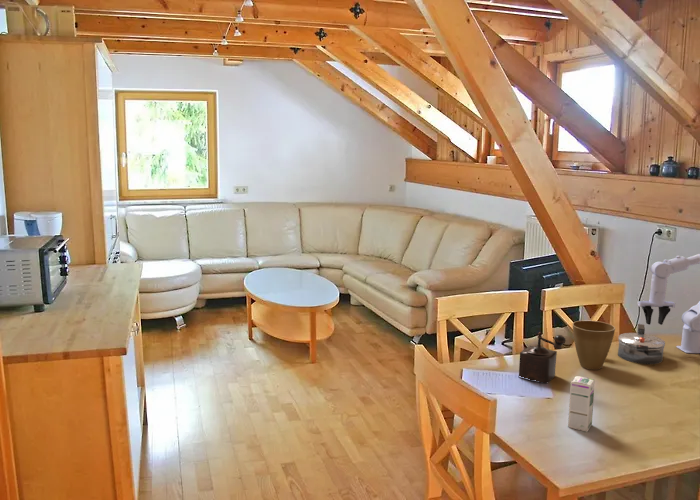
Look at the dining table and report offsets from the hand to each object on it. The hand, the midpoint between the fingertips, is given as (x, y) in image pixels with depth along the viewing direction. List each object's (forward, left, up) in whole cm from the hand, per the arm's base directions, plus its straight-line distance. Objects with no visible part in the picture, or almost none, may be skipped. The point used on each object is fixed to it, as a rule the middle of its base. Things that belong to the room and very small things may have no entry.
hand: (654, 323), depth 260 cm
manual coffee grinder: (+56, +33, -11) cm, 66 cm away
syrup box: (+58, +71, -11) cm, 92 cm away
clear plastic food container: (+10, +11, -10) cm, 18 cm away
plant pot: (+34, +21, -11) cm, 41 cm away
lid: (+9, +9, -4) cm, 13 cm away
